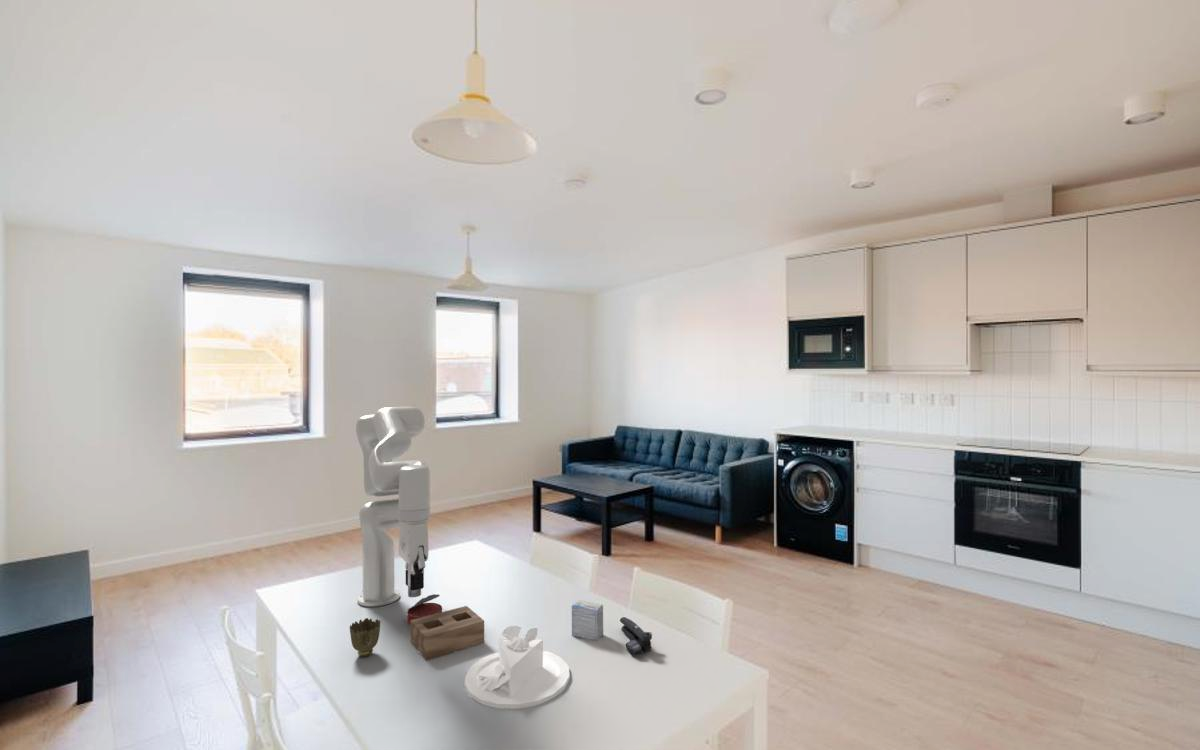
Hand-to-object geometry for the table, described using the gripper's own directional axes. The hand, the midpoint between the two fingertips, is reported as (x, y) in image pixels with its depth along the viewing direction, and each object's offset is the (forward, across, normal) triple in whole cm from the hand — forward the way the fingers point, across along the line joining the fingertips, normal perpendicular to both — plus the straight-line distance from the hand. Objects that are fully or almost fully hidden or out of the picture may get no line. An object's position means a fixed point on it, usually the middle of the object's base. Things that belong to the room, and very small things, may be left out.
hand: (414, 586), depth 145 cm
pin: (+2, 0, 0) cm, 2 cm away
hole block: (+19, -4, +10) cm, 22 cm away
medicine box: (+19, +14, +44) cm, 50 cm away
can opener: (+19, +24, +52) cm, 60 cm away
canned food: (+20, -22, +10) cm, 31 cm away
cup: (+19, -10, -10) cm, 24 cm away
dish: (+20, +22, +18) cm, 35 cm away
